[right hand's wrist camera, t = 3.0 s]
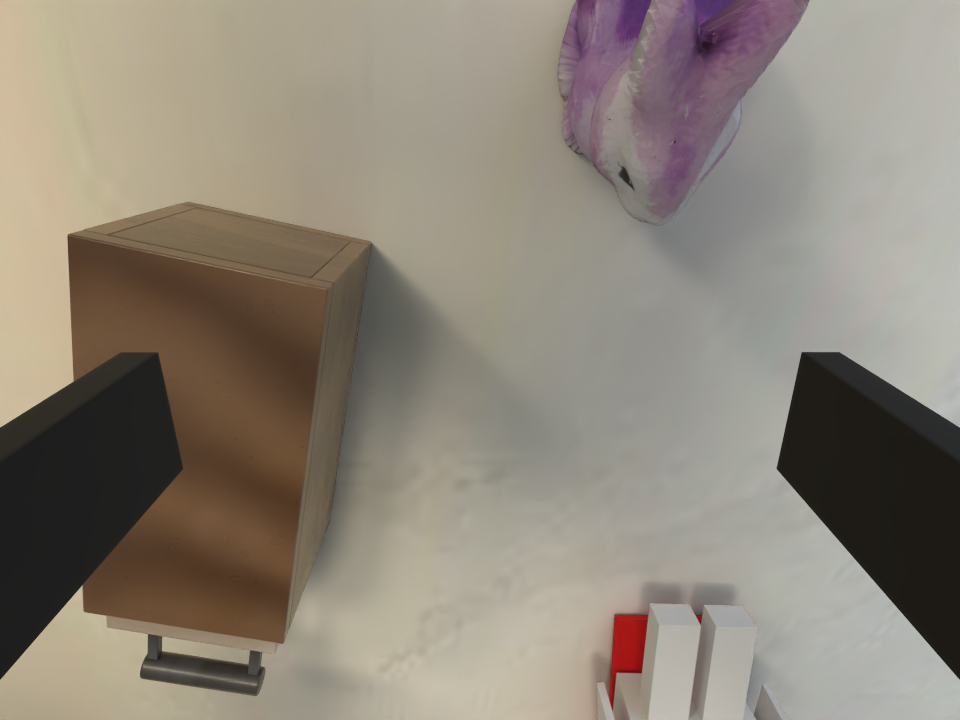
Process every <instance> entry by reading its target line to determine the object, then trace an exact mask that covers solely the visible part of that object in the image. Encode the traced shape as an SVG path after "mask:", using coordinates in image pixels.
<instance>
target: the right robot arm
mask: <svg viewBox="0 0 960 720" xmlns="http://www.w3.org/2000/svg"><path fill="white" fill-rule="evenodd" d="M182 470H183V465H182V460H181V456H180V451H179V446H178V442H177V437H176V432H175V428H174V423H173V419H172V414H171V409H170V405H169V400H168V395H167V391H166V386H165V381H164V377H163V372H162V368H161V363H160V358H159V354H158V352H120V353H119V354H117V355H116V356H114V357H112V358H111V359H109V360H108V361H106V362H104V363H103V364H101V365H100V366H98V367H96V368H95V369H93V370H92V371H90V372H88V373H87V374H85V375H84V376H82V377H80V378H79V379H77V380H76V381H74V382H72V383H71V384H69V385H68V386H66V387H65V388H63V389H61V390H60V391H58V392H57V393H55V394H53V395H52V396H50V397H49V398H47V399H45V400H44V401H42V402H41V403H39V404H37V405H36V406H34V407H33V408H31V409H29V410H28V411H26V412H25V413H23V414H21V415H20V416H18V417H17V418H15V419H13V420H12V421H10V422H9V423H7V424H5V425H4V426H2V427H1V428H0V679H1V678H2V677H3V676H4V675H5V674H6V672H7V671H8V670H9V669H10V668H11V667H12V665H13V664H14V663H15V662H16V661H17V660H18V659H19V657H20V656H21V655H22V654H23V653H24V652H25V651H26V649H27V648H28V647H29V646H30V645H31V644H32V642H33V641H34V640H35V639H36V638H37V637H38V636H39V634H40V633H41V632H42V631H43V630H44V629H45V627H46V626H47V625H48V624H49V623H50V622H51V621H52V619H53V618H54V617H55V616H56V615H57V614H58V613H59V611H60V610H61V609H62V608H63V607H64V606H65V604H66V603H67V602H68V601H69V600H70V599H71V598H72V596H73V595H74V594H75V593H76V592H77V591H78V590H79V588H80V587H81V586H82V585H83V584H84V583H85V581H86V580H87V579H88V578H89V577H90V576H91V575H92V573H93V572H94V571H95V570H96V569H97V568H98V566H99V565H100V564H101V563H102V562H103V561H104V560H105V558H106V557H107V556H108V555H109V554H110V553H111V552H112V550H113V549H114V548H115V547H116V546H117V545H118V543H119V542H120V541H121V540H122V539H123V538H124V537H125V535H126V534H127V533H128V532H129V531H130V530H131V528H132V527H133V526H134V525H135V524H136V523H137V522H138V520H139V519H140V518H141V517H142V516H143V515H144V514H145V512H146V511H147V510H148V509H149V508H150V507H151V505H152V504H153V503H154V502H155V501H156V500H157V499H158V497H159V496H160V495H161V494H162V493H163V492H164V490H165V489H166V488H167V487H168V486H169V485H170V484H171V482H172V481H173V480H174V479H175V478H176V477H177V476H178V474H179V473H180V472H181V471H182ZM777 470H778V471H779V472H780V473H781V474H782V476H783V477H784V478H785V479H786V480H787V481H788V482H789V484H790V485H791V486H792V487H793V488H794V489H795V490H796V492H797V493H798V494H799V495H800V496H801V497H802V499H803V500H804V501H805V502H806V503H807V504H808V505H809V507H810V508H811V509H812V510H813V511H814V512H815V514H816V515H817V516H818V517H819V518H820V519H821V520H822V522H823V523H824V524H825V525H826V526H827V527H828V528H829V530H830V531H831V532H832V533H833V534H834V535H835V537H836V538H837V539H838V540H839V541H840V542H841V543H842V545H843V546H844V547H845V548H846V549H847V550H848V552H849V553H850V554H851V555H852V556H853V557H854V558H855V560H856V561H857V562H858V563H859V564H860V565H861V566H862V568H863V569H864V570H865V571H866V572H867V573H868V575H869V576H870V577H871V578H872V579H873V580H874V581H875V583H876V584H877V585H878V586H879V587H880V588H881V590H882V591H883V592H884V593H885V594H886V595H887V596H888V598H889V599H890V600H891V601H892V602H893V603H894V604H895V606H896V607H897V608H898V609H899V610H900V611H901V613H902V614H903V615H904V616H905V617H906V618H907V619H908V621H909V622H910V623H911V624H912V625H913V626H914V628H915V629H916V630H917V631H918V632H919V633H920V634H921V636H922V637H923V638H924V639H925V640H926V641H927V642H928V644H929V645H930V646H931V647H932V648H933V649H934V651H935V652H936V653H937V654H938V655H939V656H940V657H941V659H942V660H943V661H944V662H945V663H946V664H947V665H948V667H949V668H950V669H951V670H952V671H953V672H954V674H955V675H956V676H957V677H958V678H959V679H960V428H959V427H958V426H956V425H955V424H953V423H951V422H950V421H948V420H947V419H945V418H943V417H942V416H940V415H939V414H937V413H935V412H934V411H932V410H931V409H929V408H927V407H926V406H924V405H923V404H921V403H919V402H918V401H916V400H915V399H913V398H911V397H910V396H908V395H907V394H905V393H903V392H902V391H900V390H899V389H897V388H895V387H894V386H892V385H891V384H889V383H888V382H886V381H884V380H883V379H881V378H880V377H878V376H876V375H875V374H873V373H872V372H870V371H868V370H867V369H865V368H864V367H862V366H860V365H859V364H857V363H856V362H854V361H852V360H851V359H849V358H848V357H846V356H844V355H843V354H841V353H840V352H802V354H801V358H800V363H799V368H798V372H797V377H796V381H795V386H794V391H793V395H792V400H791V405H790V409H789V414H788V419H787V423H786V428H785V432H784V437H783V442H782V446H781V451H780V456H779V460H778V465H777Z"/></svg>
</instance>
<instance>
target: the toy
mask: <svg viewBox="0 0 960 720" xmlns="http://www.w3.org/2000/svg"><path fill="white" fill-rule="evenodd" d="M757 631H758V627H757V625H756V624H755V622H754V621H753V619H752V618H751V616H750V615H749V613H748V612H747V610H746V609H745V607H744V606H733V605H704V607H703V615H695V614H694V612H693V610H692V608H691V606H690V604H657V603H650V606H649V615H615V618H614V634H613V650H612V666H611V682H610V699H609V697H608V694H607V690H606V687H605V683H604V682H598V683H597V709H598V720H789V718H788V716H787V714H786V713H785V711H784V709H783V707H782V705H781V704H780V702H779V700H778V698H777V697H776V695H775V693H774V691H773V690H772V688H771V686H770V685H762V689H761V692H760V695H759V699H758V702H757V706H756V709H755V713H754V714H753V713H752V711H751V709H750V707H749V705H748V703H747V702H746V698H747V692H748V686H749V680H750V674H751V668H752V662H753V656H754V649H755V643H756V637H757Z"/></svg>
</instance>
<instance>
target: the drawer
mask: <svg viewBox="0 0 960 720" xmlns="http://www.w3.org/2000/svg"><path fill="white" fill-rule="evenodd" d="M107 627H108V628H114V629H120V630H127V631H133V632H139V633H145V634H148V654H147V655H146V657H145V659H144V661H143V664H142V667H141V671H140V677H141V678H142V679H147V680H154V681H160V682H167V683H173V684H180V685H186V686H193V687H199V688H206V689H212V690H219V691H225V692H232V693H239V694H245V695H252V696H257V695H258V694H259V692H260V689H261V686H262V683H263V680H264V675H265V668H264V667H261V658H262V652H265V653H271V654H275V652H276V650H277V647H278V644H279V643H274V642H268V641H262V640H255V639H249V638H243V637H237V636H230V635H224V634H218V633H212V632H206V631H199V630H193V629H187V628H181V627H174V626H168V625H162V624H156V623H150V622H143V621H137V620H131V619H125V618H119V617H112V616H107ZM162 636H164V637H171V638H177V639H183V640H189V641H196V642H202V643H208V644H214V645H221V646H227V647H233V648H240V649H246V650H250V657H249V665H248V664H241V663H235V662H228V661H222V660H216V659H209V658H203V657H197V656H190V655H184V654H178V653H171V652H165V651H162Z"/></svg>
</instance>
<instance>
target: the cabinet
mask: <svg viewBox="0 0 960 720" xmlns="http://www.w3.org/2000/svg"><path fill="white" fill-rule="evenodd" d="M370 248H371V242H370V241H365V240H361V239H356V238H351V237H347V236H342V235H338V234H333V233H328V232H324V231H319V230H315V229H310V228H305V227H301V226H296V225H292V224H287V223H282V222H278V221H273V220H269V219H264V218H259V217H255V216H250V215H246V214H241V213H236V212H232V211H227V210H223V209H218V208H213V207H209V206H204V205H200V204H195V203H190V202H186V203H182V204H177V205H173V206H170V207H166V208H162V209H158V210H155V211H151V212H147V213H144V214H140V215H136V216H132V217H129V218H125V219H121V220H118V221H114V222H110V223H106V224H103V225H99V226H95V227H92V228H88V229H84V230H82V231H78V232H74V233H71V234H68V258H69V281H70V304H71V328H72V351H73V374H74V381H76V380H77V379H79V378H80V377H82V376H84V375H85V374H87V373H88V372H90V371H92V370H93V369H95V368H96V367H98V366H100V365H101V364H103V363H104V362H106V361H108V360H109V359H111V358H112V357H114V356H116V355H117V354H119V353H120V352H158V354H159V358H160V363H161V368H162V372H163V377H164V381H165V386H166V391H167V395H168V400H169V405H170V409H171V414H172V419H173V423H174V428H175V432H176V437H177V442H178V446H179V451H180V456H181V460H182V465H183V470H182V471H181V472H180V473H179V474H178V476H177V477H176V478H175V479H174V480H173V481H172V482H171V484H170V485H169V486H168V487H167V488H166V489H165V490H164V492H163V493H162V494H161V495H160V496H159V497H158V499H157V500H156V501H155V502H154V503H153V504H152V505H151V507H150V508H149V509H148V510H147V511H146V512H145V514H144V515H143V516H142V517H141V518H140V519H139V520H138V522H137V523H136V524H135V525H134V526H133V527H132V528H131V530H130V531H129V532H128V533H127V534H126V535H125V537H124V538H123V539H122V540H121V541H120V542H119V543H118V545H117V546H116V547H115V548H114V549H113V550H112V552H111V553H110V554H109V555H108V556H107V557H106V558H105V560H104V561H103V562H102V563H101V564H100V565H99V566H98V568H97V569H96V570H95V571H94V572H93V573H92V575H91V576H90V577H89V578H88V579H87V580H86V581H85V583H84V584H83V608H84V612H87V613H94V614H100V615H106V616H112V617H119V618H125V619H131V620H137V621H143V622H150V623H156V624H162V625H168V626H174V627H181V628H187V629H193V630H199V631H206V632H212V633H218V634H224V635H230V636H237V637H243V638H249V639H255V640H262V641H268V642H274V643H280V644H283V643H284V641H285V638H286V636H287V633H288V630H289V628H290V625H291V622H292V620H293V617H294V615H295V612H296V609H297V607H298V604H299V601H300V599H301V596H302V593H303V591H304V588H305V586H306V583H307V580H308V578H309V575H310V572H311V570H312V567H313V564H314V562H315V559H316V557H317V554H318V551H319V549H320V546H321V543H322V541H323V538H324V535H325V533H326V530H327V527H328V525H329V521H330V514H331V507H332V501H333V494H334V487H335V481H336V474H337V467H338V461H339V454H340V447H341V441H342V434H343V427H344V421H345V414H346V407H347V401H348V394H349V388H350V381H351V374H352V368H353V361H354V354H355V348H356V341H357V334H358V328H359V321H360V314H361V308H362V301H363V294H364V288H365V281H366V274H367V268H368V261H369V254H370Z"/></svg>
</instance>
